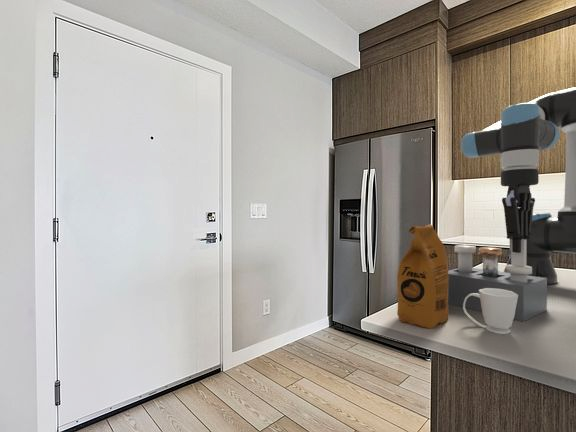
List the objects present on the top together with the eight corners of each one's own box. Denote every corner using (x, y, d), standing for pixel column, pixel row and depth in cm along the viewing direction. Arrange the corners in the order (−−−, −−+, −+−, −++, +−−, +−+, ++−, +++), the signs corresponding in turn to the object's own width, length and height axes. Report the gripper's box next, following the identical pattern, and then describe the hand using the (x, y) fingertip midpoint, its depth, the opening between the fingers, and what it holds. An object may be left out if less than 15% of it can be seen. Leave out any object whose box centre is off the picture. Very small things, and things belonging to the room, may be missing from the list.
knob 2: (511, 296, 83) (511, 263, 83) (535, 301, 79) (535, 266, 79) (502, 299, 80) (502, 265, 80) (526, 304, 76) (526, 269, 76)
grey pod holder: (465, 293, 97) (465, 266, 97) (546, 309, 81) (546, 278, 80) (439, 301, 89) (439, 272, 89) (523, 321, 73) (523, 286, 72)
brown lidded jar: (484, 277, 88) (484, 246, 88) (505, 281, 84) (505, 248, 84) (475, 280, 85) (475, 248, 85) (496, 284, 81) (496, 250, 81)
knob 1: (460, 274, 94) (460, 244, 94) (479, 277, 89) (479, 246, 89) (451, 276, 91) (451, 246, 91) (470, 279, 86) (470, 248, 86)
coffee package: (389, 320, 75) (389, 225, 74) (414, 308, 83) (414, 223, 83) (433, 332, 67) (433, 227, 67) (455, 317, 76) (455, 224, 75)
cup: (517, 339, 63) (517, 298, 63) (460, 328, 69) (460, 290, 69) (518, 328, 69) (519, 290, 68) (466, 319, 75) (466, 284, 75)
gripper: (513, 172, 85) (512, 260, 86) (489, 169, 78) (489, 266, 79) (547, 169, 79) (547, 264, 80) (526, 165, 72) (525, 270, 72)
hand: (518, 265), depth 79 cm, fingers closed
